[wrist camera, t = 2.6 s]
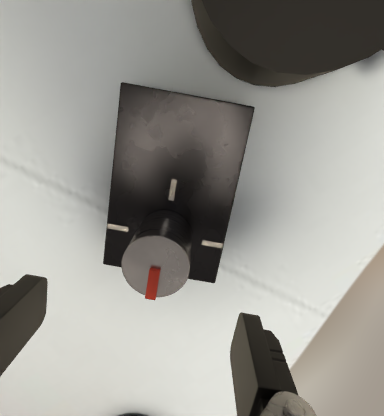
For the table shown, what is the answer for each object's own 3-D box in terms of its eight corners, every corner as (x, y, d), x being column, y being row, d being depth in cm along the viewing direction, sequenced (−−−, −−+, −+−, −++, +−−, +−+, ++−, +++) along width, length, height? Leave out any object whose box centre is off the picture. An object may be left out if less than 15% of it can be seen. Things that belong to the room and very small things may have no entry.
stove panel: (132, 87, 20) (119, 81, 17) (247, 108, 20) (255, 106, 17) (113, 256, 24) (100, 276, 21) (211, 273, 24) (212, 295, 21)
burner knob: (142, 205, 19) (123, 232, 15) (196, 215, 19) (195, 244, 15) (135, 254, 20) (116, 294, 16) (187, 263, 20) (183, 305, 16)
